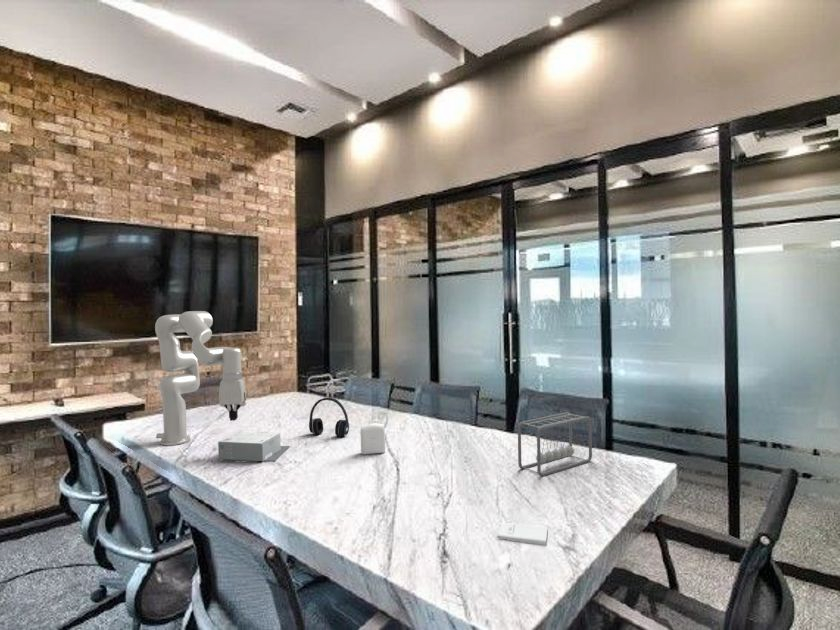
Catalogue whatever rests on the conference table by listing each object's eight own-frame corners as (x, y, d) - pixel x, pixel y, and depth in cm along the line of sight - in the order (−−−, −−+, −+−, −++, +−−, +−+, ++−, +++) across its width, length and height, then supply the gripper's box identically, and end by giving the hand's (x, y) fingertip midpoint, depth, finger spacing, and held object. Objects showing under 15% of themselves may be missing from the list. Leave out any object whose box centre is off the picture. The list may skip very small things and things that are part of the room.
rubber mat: (221, 462, 191) (221, 461, 191) (241, 447, 211) (241, 446, 211) (275, 461, 190) (275, 460, 190) (290, 446, 210) (290, 445, 210)
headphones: (307, 436, 228) (306, 398, 227) (314, 432, 234) (313, 395, 234) (344, 439, 221) (343, 400, 221) (350, 435, 228) (350, 397, 227)
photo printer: (361, 455, 196) (360, 425, 196) (360, 452, 200) (360, 423, 200) (385, 453, 198) (385, 424, 197) (384, 450, 202) (384, 421, 202)
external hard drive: (546, 547, 120) (497, 540, 123) (547, 532, 127) (501, 526, 131) (546, 541, 119) (497, 534, 123) (547, 526, 127) (501, 520, 131)
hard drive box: (217, 460, 192) (262, 462, 188) (217, 441, 192) (261, 443, 188) (239, 448, 208) (281, 450, 204) (239, 431, 207) (280, 432, 203)
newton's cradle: (539, 478, 166) (538, 428, 166) (517, 469, 175) (517, 422, 175) (592, 461, 183) (592, 415, 182) (570, 454, 192) (570, 411, 191)
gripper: (210, 378, 196) (212, 422, 197) (246, 378, 196) (247, 421, 196) (219, 376, 204) (220, 418, 204) (253, 375, 203) (254, 417, 204)
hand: (233, 419), depth 200 cm, fingers closed
